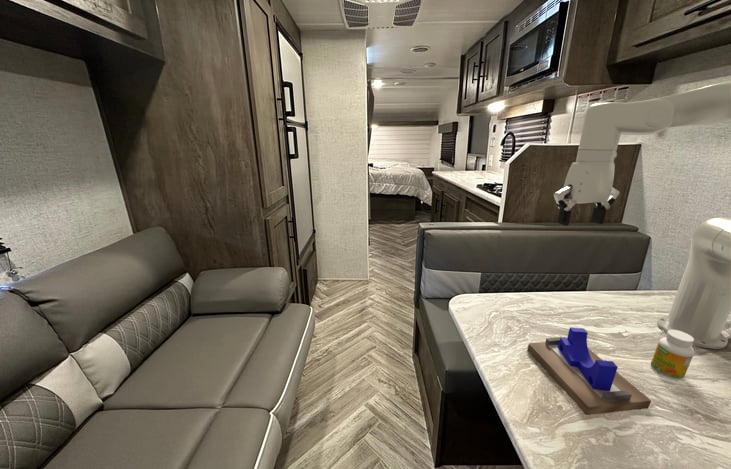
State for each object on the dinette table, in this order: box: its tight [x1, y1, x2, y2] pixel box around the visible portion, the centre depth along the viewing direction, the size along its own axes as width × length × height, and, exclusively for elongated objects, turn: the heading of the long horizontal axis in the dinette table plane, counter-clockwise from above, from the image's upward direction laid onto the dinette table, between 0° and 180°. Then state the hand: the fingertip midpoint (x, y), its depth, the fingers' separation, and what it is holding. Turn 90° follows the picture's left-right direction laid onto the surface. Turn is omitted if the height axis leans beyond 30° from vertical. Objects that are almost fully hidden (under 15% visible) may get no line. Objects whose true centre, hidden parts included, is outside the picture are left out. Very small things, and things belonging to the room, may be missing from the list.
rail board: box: [527, 336, 652, 416], centre depth 64 cm, size 13×18×4 cm
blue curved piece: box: [558, 326, 618, 391], centre depth 63 cm, size 12×4×6 cm, turn 170°
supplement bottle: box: [650, 330, 695, 381], centre depth 64 cm, size 5×5×10 cm
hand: (579, 223), depth 77 cm, fingers open, 9 cm apart
